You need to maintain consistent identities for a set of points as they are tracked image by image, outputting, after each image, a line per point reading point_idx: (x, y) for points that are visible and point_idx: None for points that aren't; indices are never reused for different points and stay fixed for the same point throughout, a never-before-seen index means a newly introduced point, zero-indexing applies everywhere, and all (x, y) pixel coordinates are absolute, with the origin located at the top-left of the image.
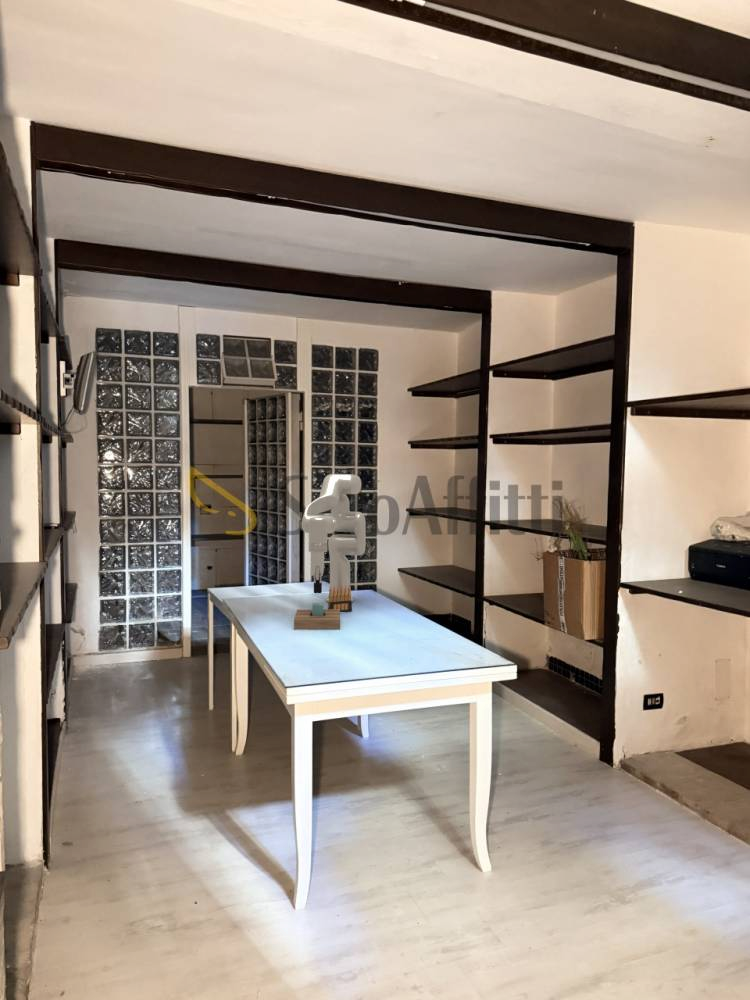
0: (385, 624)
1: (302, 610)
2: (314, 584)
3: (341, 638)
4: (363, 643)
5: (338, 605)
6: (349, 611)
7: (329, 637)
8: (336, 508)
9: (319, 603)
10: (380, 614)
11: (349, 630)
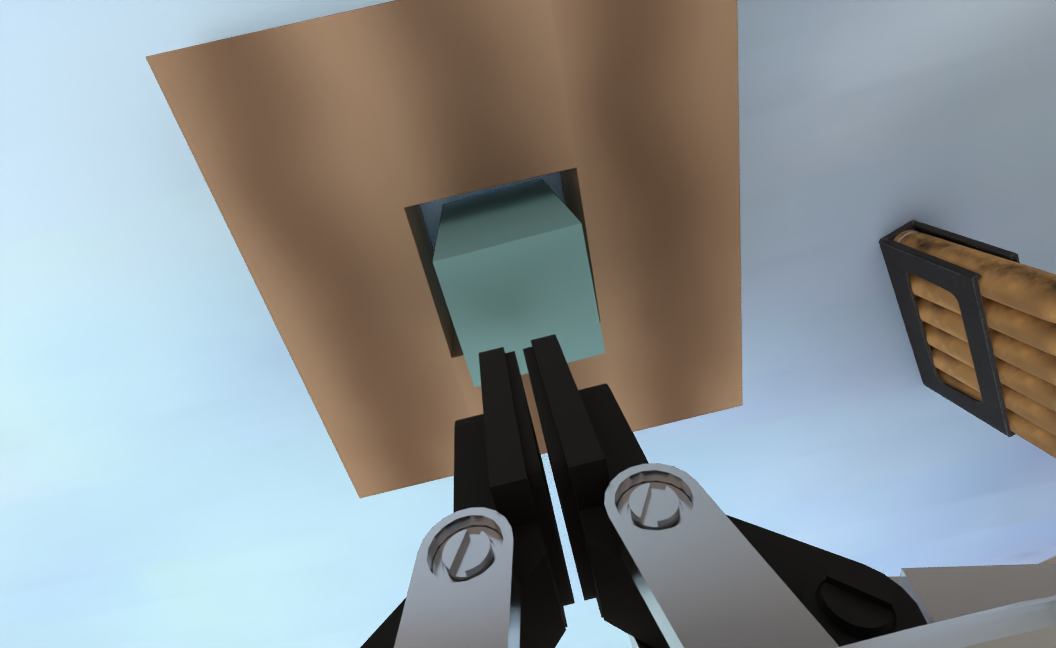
0: (573, 620)
1: (673, 31)
2: (492, 481)
3: (126, 510)
4: (82, 633)
5: (957, 330)
6: (923, 373)
7: (105, 437)
8: None
9: (587, 313)
10: (822, 548)
11: (366, 499)
